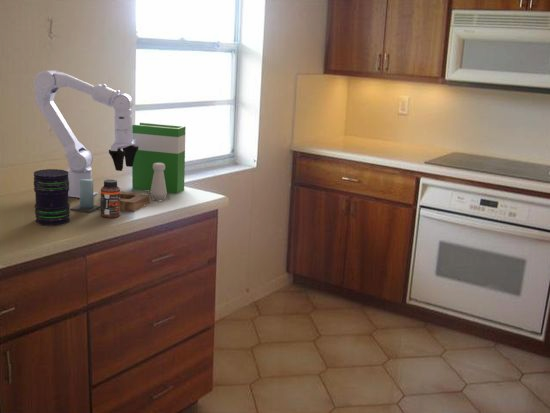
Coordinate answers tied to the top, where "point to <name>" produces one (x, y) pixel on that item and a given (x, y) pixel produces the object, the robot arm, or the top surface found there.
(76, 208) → the mat
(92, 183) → the peg
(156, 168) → the salt shaker
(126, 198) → the holder
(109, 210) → the supplement bottle
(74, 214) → the top surface
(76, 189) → the robot arm
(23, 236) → the top surface
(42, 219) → the storage jar
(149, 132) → the green cereal box
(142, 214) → the top surface
